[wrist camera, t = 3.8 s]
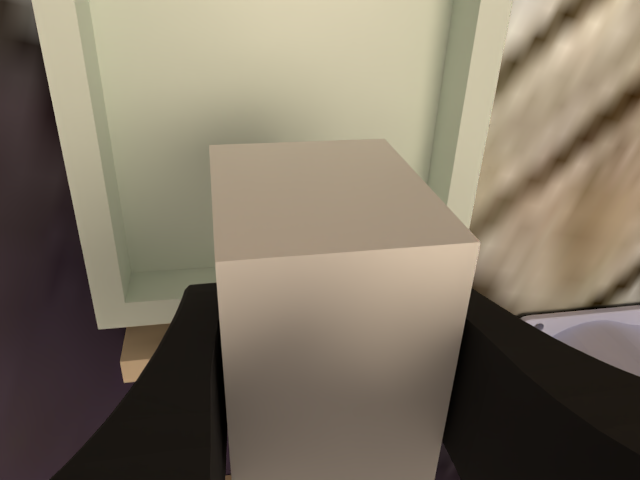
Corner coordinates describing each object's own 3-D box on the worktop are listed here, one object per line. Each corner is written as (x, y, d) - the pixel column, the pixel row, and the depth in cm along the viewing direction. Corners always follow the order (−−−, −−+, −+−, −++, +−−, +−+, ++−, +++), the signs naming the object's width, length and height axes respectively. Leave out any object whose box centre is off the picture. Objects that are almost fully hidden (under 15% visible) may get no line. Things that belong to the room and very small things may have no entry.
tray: (489, -96, 17) (532, -100, 15) (432, 264, 23) (456, 298, 21) (34, -121, 14) (5, -131, 12) (108, 288, 21) (98, 329, 18)
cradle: (326, 302, 23) (339, 340, 21) (317, 475, 28) (327, 520, 26) (127, 319, 21) (119, 361, 19) (158, 498, 27) (154, 547, 25)
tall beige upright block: (384, 138, 13) (480, 241, 8) (363, 386, 16) (421, 547, 12) (208, 145, 12) (215, 262, 8) (227, 402, 16) (238, 579, 11)
